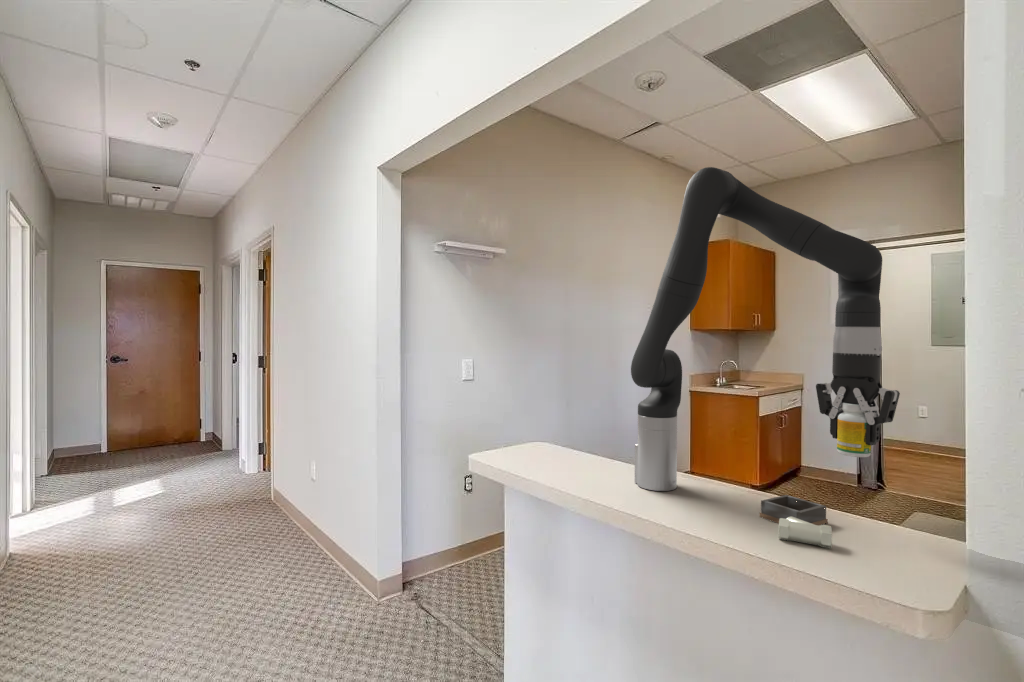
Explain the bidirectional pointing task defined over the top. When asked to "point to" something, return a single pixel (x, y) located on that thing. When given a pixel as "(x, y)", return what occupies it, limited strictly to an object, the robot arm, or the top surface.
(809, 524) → the pipe fitting
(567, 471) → the top surface
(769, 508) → the square holder
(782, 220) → the robot arm
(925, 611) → the top surface
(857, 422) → the supplement bottle
